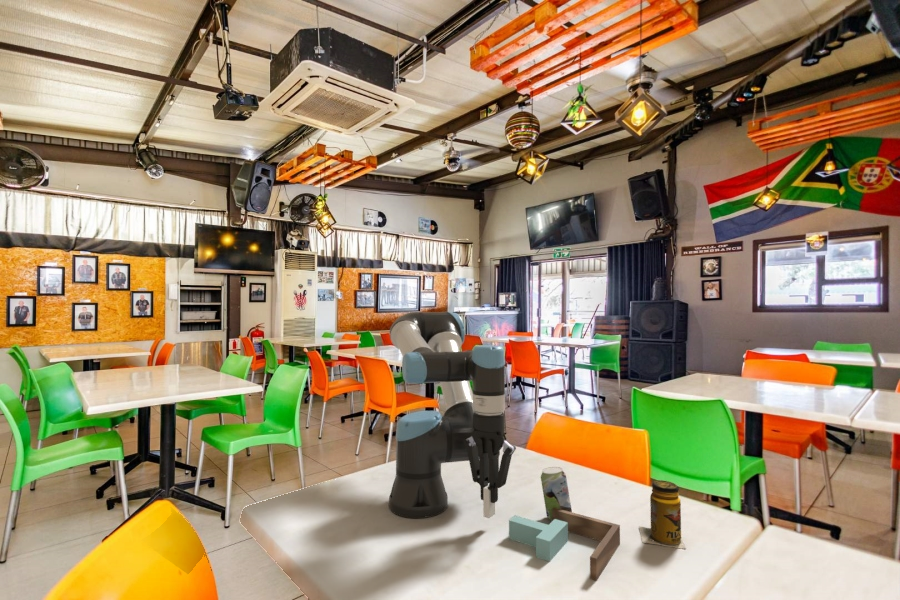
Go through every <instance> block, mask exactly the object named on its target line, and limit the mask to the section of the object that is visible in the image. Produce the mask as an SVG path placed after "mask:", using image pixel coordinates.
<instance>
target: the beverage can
mask: <svg viewBox="0 0 900 600" xmlns="http://www.w3.org/2000/svg"><path fill="white" fill-rule="evenodd" d="M566 474H567V473H565V472H564V470H563V468H562V467H560V466H552V467H546V468H544V469H542V471H541V474H540V481H541V482H540V483H541V487H542V492H543V493H542V494H543V499H544V500H543V501H544V504H545V505H544V507H545V512H546V517H547V519H548V520H550V521H551V522H552V509H553V508H557V509H561V510H565V511H569V512H572V505H571V503H572V502H571V499H570V492H569V491H570V490H569V486H568V479H567V475H566ZM572 513H573V512H572Z"/></svg>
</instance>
